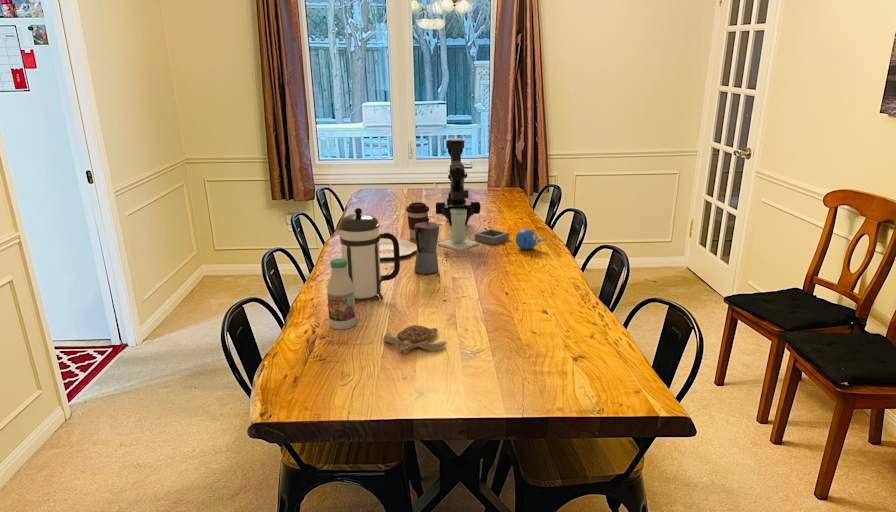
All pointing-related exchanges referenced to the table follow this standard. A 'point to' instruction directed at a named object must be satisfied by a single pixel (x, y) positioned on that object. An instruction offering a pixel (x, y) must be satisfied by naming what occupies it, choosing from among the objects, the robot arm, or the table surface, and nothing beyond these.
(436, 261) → the moka pot
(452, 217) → the grey domed cup
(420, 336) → the decorative turtle
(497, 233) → the holder
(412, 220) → the coffee cup
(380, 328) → the table surface
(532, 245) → the blue mole toy
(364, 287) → the coffee press
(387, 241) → the plate
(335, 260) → the milk bottle
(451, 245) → the plate
